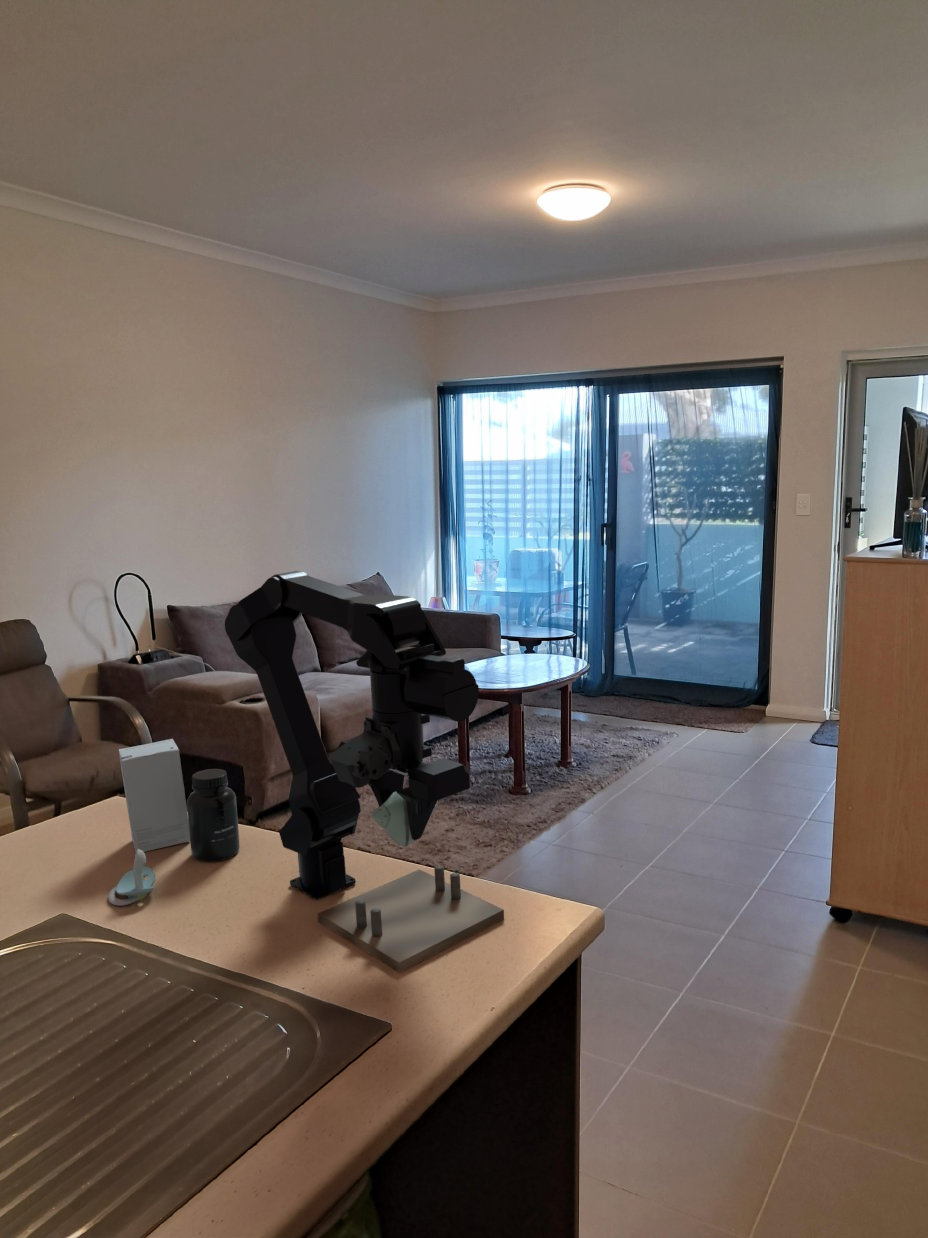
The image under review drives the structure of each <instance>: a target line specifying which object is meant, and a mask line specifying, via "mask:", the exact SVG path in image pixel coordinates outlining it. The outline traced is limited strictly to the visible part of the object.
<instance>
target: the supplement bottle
mask: <svg viewBox="0 0 928 1238" xmlns="http://www.w3.org/2000/svg"><path fill="white" fill-rule="evenodd" d="M227 775H228V773H227V771H226V770H224V769H221V768H210V769H209V768H208V769H204V770H200V771H196V772H195V773H194V774H192V776H191V781H192V785H191V789H192V790H193V792H191V793H190V794H189V796H188V797H187V800H186V808H187V815H188V822H189V833H190V841H189V843H190V851H191V856H192V857H193V858H194V859H195V860H196V861H199V862H205V863H213V862H214V863H215V862H220V861H225V860H228V859H230V858H231V857H234V856H235V855H236V854H237V853H238V852H239V850H240V844H241V843H240V832H239V819H238V808H237V807H238V806H237V796H236V793H235V792H234V790H233V789H232V788H230V787H228V785H229V781H228V776H227Z"/></svg>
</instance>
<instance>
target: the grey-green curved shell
mask: <svg viewBox="0 0 928 1238" xmlns="http://www.w3.org/2000/svg"><path fill="white" fill-rule="evenodd" d="M438 807H439V806H438V804H436V805H435V807H434V809H433V811H432V813H431V815H432V814H433V813H434V812H435V810H436V809H437V808H438ZM371 818H372V820H373V821H374V822H375V823H376V824H377V825H378V826H380V827H381V828H382V829H383V830H385V831H386V832H387V835H388V836H389V838H390V839H391V840H392V841H393V842H395V844H397V845H398V846H402V847H408V846H410V845H412V844H414V843H415V841H416V840H413V839H412V836H411V832H410V826H409V819H408V811H407V804H406V800H405V799H404V798H402V797H401V796H400V795H399V794H398V793H397V792H394V793H392V795H391V796H390V797H389V798H388V800H387V801H386V802H385V803H384V804H383V805H382V806H380V807H379V806H377V807H375V808H373V809H372V814H371Z"/></svg>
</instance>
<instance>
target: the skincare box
mask: <svg viewBox="0 0 928 1238" xmlns="http://www.w3.org/2000/svg"><path fill="white" fill-rule="evenodd" d="M118 756H119V763H120V769H121V771H120V772H121V776H122V781H123V788H124V789H123V791H124V794H125V795H124V796H125V802H126V808H127V814H128V820H129V827H130V834H131V839H132V844H133V847H134V850H135V853H136V851H137V849H140V850H142V851H143V852H144V853H145V852H149V851H153V850H158V849H162V848H167V847H171V846H175V845H182V844H184V843H190V833H189V822H188V811H187V800H186V794H185V786H184V779H183V772H182V771H183V770H182V765H181V764H182V763H181V756H180V749H179V747H178V745H177V743H176V742H175V740H174V739H173V738H169V739H165V740H160V741H155V742H151V743H146V744H141V745H136V746H131V747H124V748H119V749H118Z"/></svg>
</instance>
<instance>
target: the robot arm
mask: <svg viewBox="0 0 928 1238" xmlns="http://www.w3.org/2000/svg"><path fill="white" fill-rule="evenodd" d="M227 613H228V614H227V616H226V617H225V619H224V630H225V633H226V635H227V637H228V639H229V641H230V643H231V645H232V646H233V649H234V651H235V654H236V656H237V657H238V658H240V659H241V660H242V661H243V662H244V663H246V664H247V665H248V666H249V667H250V668H252V670H254V671H255V673H256V675H257V678H258V680H259V683H260V686H261V690H262V692H263V695H264V698H265V700H266V703H267V706H268V710H269V711H270V714H271V718H272V720H273V724H274V726H275V729H276V732H277V735H278V737H279V740H280V744H281V746H282V748H283V751H284V754H285V756H286V760H287V763H288V766H289V768H290V771H291V774H292V779H291V783H290V789H289V795H288V803H289V808H290V812H291V816H290V817H289V818H288V820H287V821H286V822H285V824H284V825H283V826H282V827H281V829H280V830H279V831H278V834H279V837H280V840H281V843H282V847H283V848H285V849H287V850H290V851H292V852H294V853H297V861H298V873H299V876H298V877H295V878H293V879H290V880H289V885H290V886H291V887H294V888H295V889H297V890H298V891H299V892H301V893H303V894H305V895H307V896H309V897H310V898H312V899H313V900H318V899H321V898H324V897H326V896H329V895H331V894H333V893H335V892H339V891H340V890H342V889H345V888H347V887H350V886H352V885H355V884H356V878H355V877H353V876H351V875H349V874H347V871H346V869H347V867H346V857H345V854H344V842H343V841H342V839H343V838H347V837H348V836H350V835H351V836H352V835H354V834H355V833H356V830H357V826H358V825H357V824H358V819H359V816H360V815H359V814H361V811H362V809H361V807H362V806H361V803H360V800H359V799H361V795H360V793H359V792H358V790H357V788H359V789H360V788H363V787H365V786H367V785H369V788H370V789H371V791H372V793H373V795H374V797H375V800H376V802H377V804H378V807H380V806H382V805H383V804H384V803H385V802H386V801H387V800H388V798H389V797H390V796H391V795H392V793H394V792H397V793H398V794H399V795H400V796H401V797H402V798H404V799H405V800H406V804H407V811H408V819H409V826H410V832H411V836H412V839H413V840H415V841H417V840H419V839H421V838H422V837H423V834H424V831H425V830H426V827H427V825H428V822H429V820H430V817H431V816H432V814H433V813H432V811H433V809H434V807H435V805H437V802H438V801H439V800H442V799H445V798H448V797H450V796H453V795H456V794H459V793H462V792H464V791H467V790H469V789H471V770H470V769H469V768H468V767H467V766H465V764H462V763H459V762H457V761H454V760H450V759H448V758H444V757H443V758H439V759H437V760H433V761H431V762H429V763H423V761H424V759H426V758H428V757H433V755H432V752H433V751H432V747H431V746H428V745H425V744H424V727H423V726H424V725H423V724H427V723H430V722H431V717H435V718H439V719H443V720H448V721H453V722H456V723H458V722H459V723H461V722H464V721H466V720H467V719H468V718H469V717H470V716H471V715H472V714H473V713H474V710H475V709H476V708H477V704H478V700H479V693H480V691H479V689H480V688H479V687H480V686H479V684H478V682H477V680H476V678H475V676H474V674H473V673H472V672H471V671H469V670H468V669H466V667H465V663H466V662H465V659H464V658H462V657H455V656H453V657H444V656H445V655H447V651H446V649H445V647H444V645H443V643H442V642H441V641H442V640H441V638H439V636H438V635H437V632H436V631H435V629H434V628H433V626H432V624H431V622H430V621H429V618H428V617H427V615H426V613H425V612H424V610H423V609H422V604H421V602H419V601H418V599H416V598H414V597H412V596H404V595H396V594H395V595H394V594H393V595H392V594H384V595H381V594H380V595H379V594H377V595H369V594H363V593H361V592H357V591H355V590H352V589H348V588H345V587H343V586H340V585H336V584H333V583H331V582H327V581H324V580H323V579H319V578H316V577H313V576H310V575H309V574H307V573H306V572H303V571H301V570H295V571H294V570H293V571H289V572H281V573H277V574H273V575H271V576H270V577H269V578H267V579H266V580H265V581H264V583H263V584H262V585H261V586H260V587H258V588H257V589H255V590H254V591H253V592H251V593H250V594H248V595H246V596H244V598H241V600H239V601H238V603H236V604H234V605H232V606H231V608H229V611H228V612H227ZM303 614H304V615H307V616H309V617H311V618H315V619H316V620H319V621H322V622H325V623H327V624H330V625H333V626H336V627H338V628H341V629H343V630H344V631H346V632H347V633H348V635H349V638H350V640H351V641H352V642H353V643H354V644H356V645H358V646H359V647H360V648H362V649H364V650H366V651H365V652H364V654H363V655H362V656H360V657H359V658H358V659H357V660H356V662H355V663H356V666H357V667H359V668H365V669H369V678H370V679H369V680H370V681H369V682H370V693H371V709H372V714H371V715H367V716H365V717H364V719H365V720H363V732H362V733H360V734H359V735H356V736H354V737H351V738H347V739H345V740H342V741H340V743H339V744H338V746H337V747H336V749H335V751H333V752H332V753H330V755H329V756H328V753H327V751H326V748H325V745H324V742H323V740H322V737H321V735H320V734H321V733H320V732H319V729H318V726H317V723H316V720H315V717H314V715H313V712H312V710H311V707H310V703H309V701H308V698H307V696H306V692H305V690H304V687H303V684H302V682H301V681H302V680H301V678H300V676H299V673H298V670H297V668H296V665H295V662H294V658H293V657H294V651H295V646H296V641H297V632H296V628H295V623H296V622H297V621H298V620H299V618H300V617H302V615H303ZM417 645H418V646H417ZM413 646H414V647H413ZM408 647H410V648H408ZM405 648H407V649H405ZM400 649H402V650H400ZM403 649H404V650H403ZM397 650H398V651H397ZM399 650H400V651H399ZM405 776H406V777H408V778H407V779H408V786H407V787H404V783H405V778H406V777H405ZM431 813H432V814H431Z"/></svg>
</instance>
